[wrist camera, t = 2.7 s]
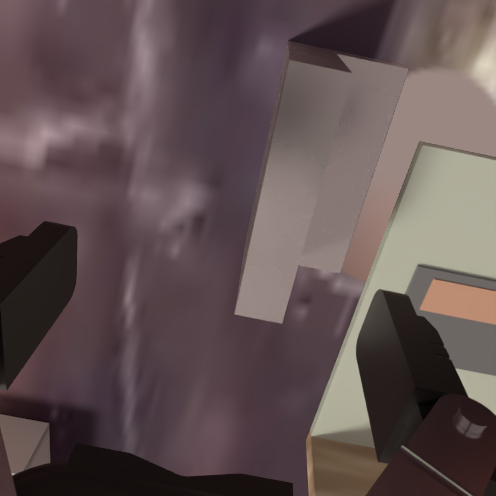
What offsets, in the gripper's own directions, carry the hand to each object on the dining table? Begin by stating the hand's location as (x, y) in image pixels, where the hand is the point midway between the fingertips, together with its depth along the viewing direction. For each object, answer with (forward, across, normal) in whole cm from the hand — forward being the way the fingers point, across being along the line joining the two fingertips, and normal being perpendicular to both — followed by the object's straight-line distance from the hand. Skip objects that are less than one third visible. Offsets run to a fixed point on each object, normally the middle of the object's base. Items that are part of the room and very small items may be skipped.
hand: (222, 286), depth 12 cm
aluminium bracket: (+12, -3, 0) cm, 12 cm away
